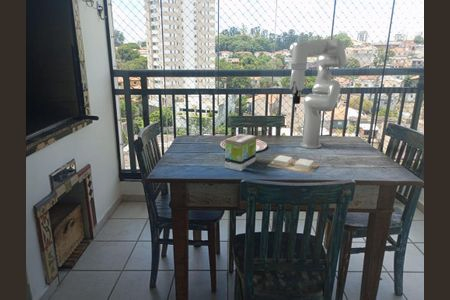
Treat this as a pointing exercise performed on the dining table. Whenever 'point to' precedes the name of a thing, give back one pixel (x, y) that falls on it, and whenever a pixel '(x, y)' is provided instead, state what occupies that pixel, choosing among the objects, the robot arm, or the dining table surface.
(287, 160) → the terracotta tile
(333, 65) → the robot arm
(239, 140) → the tea box
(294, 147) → the dining table surface
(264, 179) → the dining table surface
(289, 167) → the striped wooden board
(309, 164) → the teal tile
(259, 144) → the dinner plate
